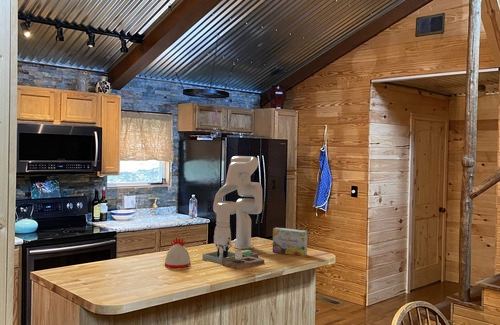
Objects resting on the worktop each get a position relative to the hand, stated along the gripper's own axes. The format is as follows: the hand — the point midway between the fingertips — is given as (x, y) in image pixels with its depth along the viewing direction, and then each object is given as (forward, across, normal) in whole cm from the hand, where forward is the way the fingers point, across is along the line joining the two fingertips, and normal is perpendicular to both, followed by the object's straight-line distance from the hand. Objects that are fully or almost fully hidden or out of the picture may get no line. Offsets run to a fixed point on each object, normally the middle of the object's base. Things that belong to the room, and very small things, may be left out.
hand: (222, 256), depth 276 cm
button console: (+2, +6, +14) cm, 15 cm away
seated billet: (+1, +17, -4) cm, 18 cm away
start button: (+2, +6, +14) cm, 15 cm away
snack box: (+3, +14, +43) cm, 45 cm away
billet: (+2, 0, 0) cm, 2 cm away
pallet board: (+2, +17, 0) cm, 17 cm away
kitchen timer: (+3, -9, -25) cm, 27 cm away
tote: (+2, 0, 0) cm, 2 cm away
